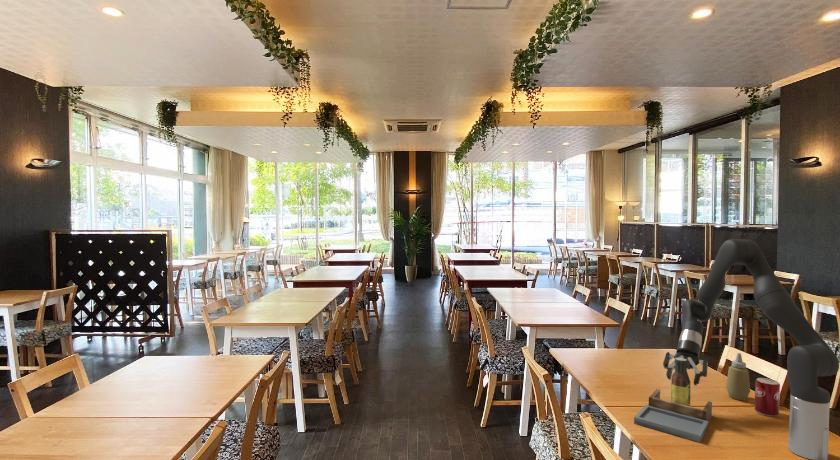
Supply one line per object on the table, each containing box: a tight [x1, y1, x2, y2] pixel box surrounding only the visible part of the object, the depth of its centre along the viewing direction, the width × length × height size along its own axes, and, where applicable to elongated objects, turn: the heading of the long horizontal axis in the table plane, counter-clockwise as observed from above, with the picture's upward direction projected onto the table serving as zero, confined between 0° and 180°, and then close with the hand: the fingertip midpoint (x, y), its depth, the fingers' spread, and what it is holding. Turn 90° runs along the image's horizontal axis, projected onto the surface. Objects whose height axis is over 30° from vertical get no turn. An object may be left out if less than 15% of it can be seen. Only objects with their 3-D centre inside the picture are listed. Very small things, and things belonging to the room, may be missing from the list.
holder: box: [648, 389, 713, 422], centre depth 168 cm, size 18×11×5 cm, turn 49°
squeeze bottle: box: [725, 352, 751, 401], centre depth 183 cm, size 8×8×18 cm
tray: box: [633, 404, 709, 443], centre depth 158 cm, size 20×14×2 cm
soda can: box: [754, 377, 781, 417], centre depth 169 cm, size 7×7×12 cm
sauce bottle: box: [670, 358, 692, 407], centre depth 168 cm, size 6×6×20 cm
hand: (681, 381), depth 169 cm, fingers open, 8 cm apart
